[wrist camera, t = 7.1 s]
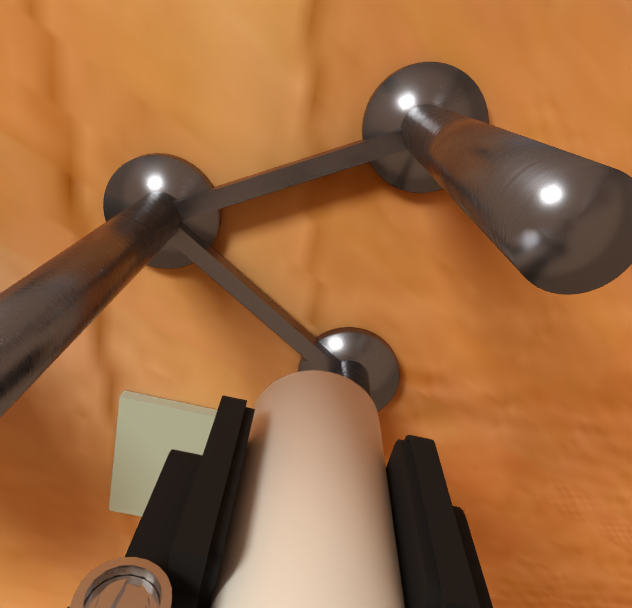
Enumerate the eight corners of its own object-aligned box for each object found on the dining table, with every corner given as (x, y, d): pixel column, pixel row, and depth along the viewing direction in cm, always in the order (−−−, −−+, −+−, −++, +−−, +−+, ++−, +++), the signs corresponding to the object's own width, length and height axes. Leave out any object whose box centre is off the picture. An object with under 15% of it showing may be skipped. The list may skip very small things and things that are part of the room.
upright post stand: (503, 80, 21) (837, 100, 7) (381, 421, 28) (430, 767, 14) (124, -21, 20) (-353, -228, 6) (96, 359, 27) (-155, 669, 13)
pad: (274, 422, 28) (273, 429, 27) (247, 529, 31) (245, 537, 30) (124, 390, 27) (119, 396, 27) (112, 502, 30) (108, 510, 30)
